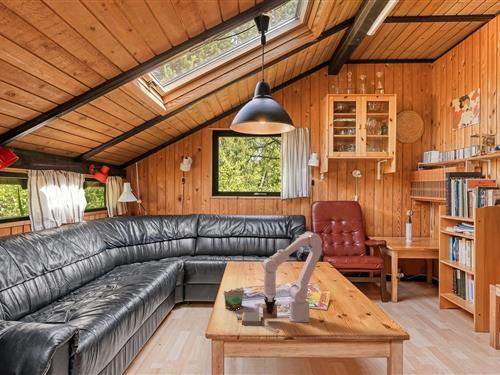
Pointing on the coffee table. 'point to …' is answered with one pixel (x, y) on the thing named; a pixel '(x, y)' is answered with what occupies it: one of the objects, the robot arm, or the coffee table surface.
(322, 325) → the coffee table surface
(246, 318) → the dock
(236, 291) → the food container
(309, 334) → the coffee table surface
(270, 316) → the brown block
